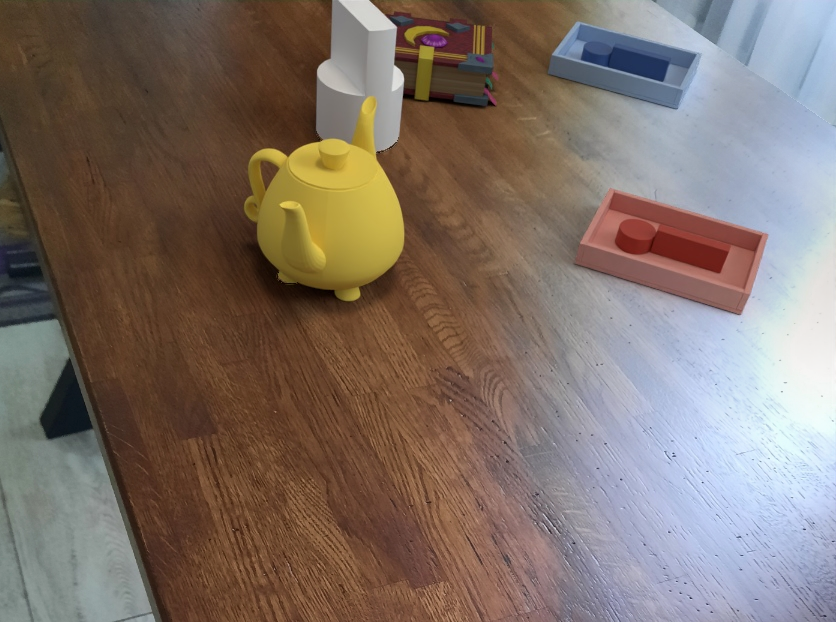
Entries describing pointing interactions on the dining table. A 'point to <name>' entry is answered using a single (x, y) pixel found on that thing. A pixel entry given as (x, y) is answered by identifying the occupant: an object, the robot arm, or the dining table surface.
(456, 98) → the decorative book
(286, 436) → the dining table surface
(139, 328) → the dining table surface
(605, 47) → the blue spoon
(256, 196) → the teapot
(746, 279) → the pink tray
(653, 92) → the blue tray
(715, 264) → the red spoon
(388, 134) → the base with upright slab
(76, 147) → the dining table surface
